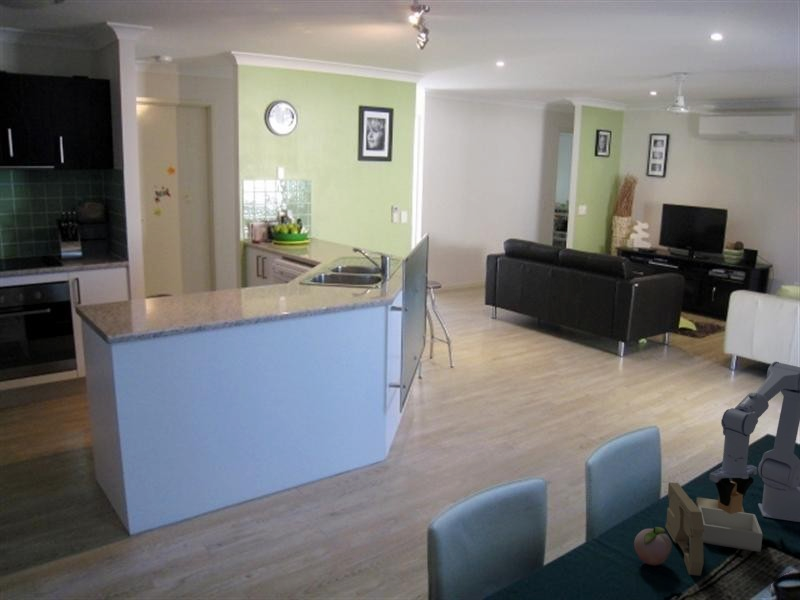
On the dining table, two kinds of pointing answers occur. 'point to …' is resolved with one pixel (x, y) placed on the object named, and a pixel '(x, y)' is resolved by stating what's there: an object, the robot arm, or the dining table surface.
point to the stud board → (709, 503)
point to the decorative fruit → (653, 545)
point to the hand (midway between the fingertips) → (730, 502)
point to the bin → (731, 529)
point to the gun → (685, 527)
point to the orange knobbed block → (733, 502)
